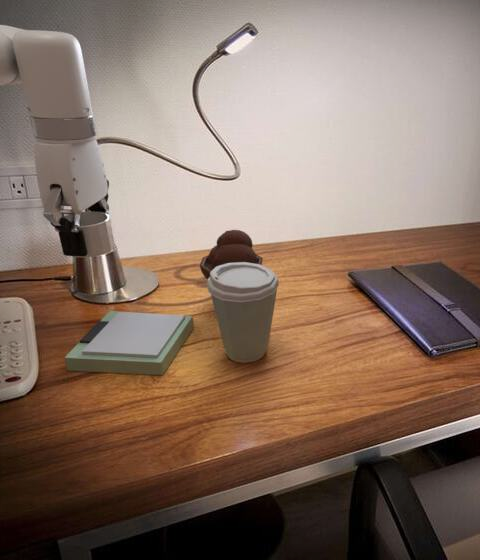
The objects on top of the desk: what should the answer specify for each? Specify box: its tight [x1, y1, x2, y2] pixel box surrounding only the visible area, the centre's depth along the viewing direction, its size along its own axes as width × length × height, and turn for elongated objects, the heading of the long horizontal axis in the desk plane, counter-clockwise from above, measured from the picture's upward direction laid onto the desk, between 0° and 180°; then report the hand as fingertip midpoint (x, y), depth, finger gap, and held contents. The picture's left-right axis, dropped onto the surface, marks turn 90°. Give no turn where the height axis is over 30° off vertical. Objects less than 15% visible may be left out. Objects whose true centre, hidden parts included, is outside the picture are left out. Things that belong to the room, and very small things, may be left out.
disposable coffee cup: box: [206, 262, 280, 364], centre depth 83 cm, size 11×11×15 cm
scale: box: [64, 310, 195, 376], centre depth 85 cm, size 14×14×3 cm
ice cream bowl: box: [199, 229, 264, 281], centre depth 96 cm, size 11×11×15 cm
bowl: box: [64, 210, 116, 258], centre depth 80 cm, size 7×7×5 cm
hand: (89, 244), depth 81 cm, fingers closed on bowl, 7 cm apart
